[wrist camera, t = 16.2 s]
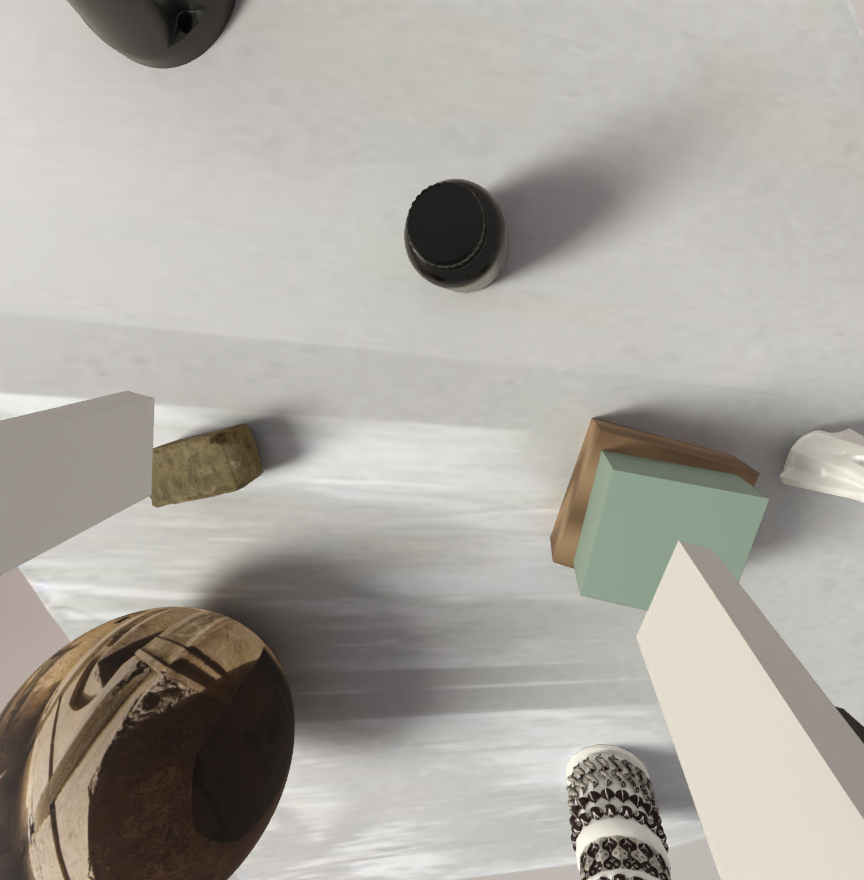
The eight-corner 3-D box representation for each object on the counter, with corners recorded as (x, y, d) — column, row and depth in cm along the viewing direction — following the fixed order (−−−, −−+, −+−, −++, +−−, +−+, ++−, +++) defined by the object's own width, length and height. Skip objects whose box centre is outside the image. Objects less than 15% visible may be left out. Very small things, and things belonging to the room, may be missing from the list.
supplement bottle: (411, 258, 41) (367, 236, 29) (462, 187, 39) (436, 134, 27) (472, 310, 41) (452, 308, 30) (526, 242, 39) (527, 212, 28)
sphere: (360, 738, 55) (238, 1057, 32) (183, 750, 61) (-32, 1026, 38) (291, 543, 50) (83, 749, 27) (106, 578, 56) (-199, 771, 33)
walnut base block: (591, 416, 42) (600, 430, 37) (731, 454, 41) (759, 473, 36) (549, 536, 45) (553, 562, 41) (677, 574, 44) (696, 606, 39)
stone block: (273, 473, 47) (241, 491, 43) (185, 493, 51) (147, 513, 47) (252, 417, 46) (217, 430, 42) (164, 443, 50) (123, 457, 45)
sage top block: (601, 450, 37) (613, 469, 33) (736, 474, 36) (769, 498, 31) (573, 562, 40) (580, 595, 35) (697, 589, 39) (722, 627, 34)
